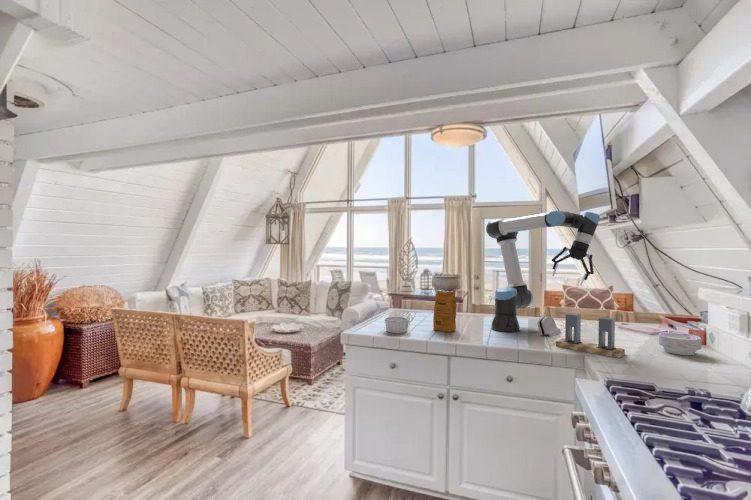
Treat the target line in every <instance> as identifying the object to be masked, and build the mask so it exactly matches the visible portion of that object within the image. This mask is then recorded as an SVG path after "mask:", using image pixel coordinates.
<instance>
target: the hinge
mask: <svg viewBox="0 0 751 500" xmlns="http://www.w3.org/2000/svg"><path fill="white" fill-rule="evenodd" d="M537 327H538V328H537V329H538V331H539V334H540V336H546V335H548V337H549V338H551V337H553V336H555V335H558V334H559V333H561V332H562V331H561V329H560V328H559V327H558V326H557V324H556V321H555V319H554V317H552V316H544V317H541V318H539V319H538V321H537Z"/></svg>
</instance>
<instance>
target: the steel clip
mask: <svg viewBox="0 0 751 500" xmlns="http://www.w3.org/2000/svg"><path fill="white" fill-rule="evenodd" d="M615 331H616V319H615V318H614V317H613V318H612V317H605V316H601V317H599V318H598V336H597V337H598V341H597V344H598V348H600V349H604V348H605V346H606V336H607V346H608V350H611V351H613V350H614V347H615V341H616V340H615V337H616V334H615ZM606 333H607V335H606Z"/></svg>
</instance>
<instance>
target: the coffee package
mask: <svg viewBox="0 0 751 500" xmlns="http://www.w3.org/2000/svg"><path fill="white" fill-rule="evenodd" d="M456 300H457V299H456V292H455V291H442V290H437V291H436V295H435V300H434V301H435V302H434V305H433V308H434V309H433V322H432V325H433V328H432V329H433V331H439V332H441V333H442V332H444V333H452V332H454V331H455V330H456V329H457V324H456V323H457V321H456V319H457V302H456Z"/></svg>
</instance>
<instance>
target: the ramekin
mask: <svg viewBox="0 0 751 500" xmlns="http://www.w3.org/2000/svg"><path fill="white" fill-rule="evenodd" d="M409 322H410V319H409V318H407V317H405V316H404V317H403V316H387V317H385V318H384V323H385V330H386V332H388V333H391V334H404V333H406V332H407V331H408V327H409Z"/></svg>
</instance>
